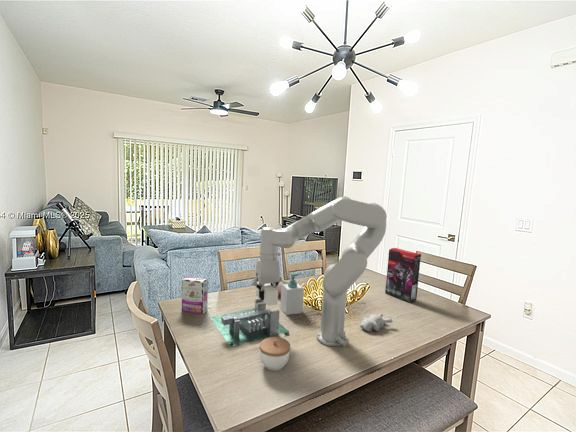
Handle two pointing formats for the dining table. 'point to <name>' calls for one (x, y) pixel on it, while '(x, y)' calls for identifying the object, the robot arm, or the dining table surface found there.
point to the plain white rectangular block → (269, 294)
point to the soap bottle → (292, 296)
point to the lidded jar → (274, 352)
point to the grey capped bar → (242, 317)
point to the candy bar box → (194, 295)
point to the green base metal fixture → (250, 326)
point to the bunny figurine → (374, 322)
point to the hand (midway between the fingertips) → (266, 297)
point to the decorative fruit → (280, 286)
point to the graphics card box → (403, 274)
